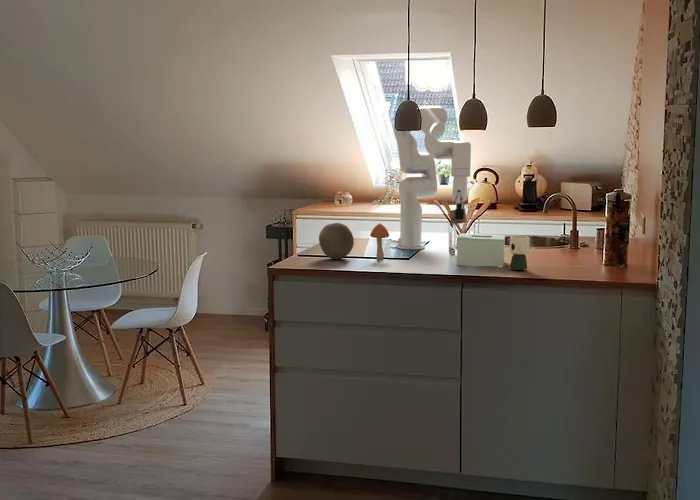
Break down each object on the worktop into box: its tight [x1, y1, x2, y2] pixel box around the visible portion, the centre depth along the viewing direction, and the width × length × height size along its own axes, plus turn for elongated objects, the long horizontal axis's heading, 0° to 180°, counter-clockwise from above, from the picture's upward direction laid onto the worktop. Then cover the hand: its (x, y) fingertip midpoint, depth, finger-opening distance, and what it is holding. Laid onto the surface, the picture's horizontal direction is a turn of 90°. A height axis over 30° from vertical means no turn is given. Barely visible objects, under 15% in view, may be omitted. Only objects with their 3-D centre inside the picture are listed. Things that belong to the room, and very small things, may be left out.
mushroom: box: [369, 223, 390, 261], centre depth 328 cm, size 8×8×15 cm
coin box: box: [456, 232, 506, 268], centre depth 321 cm, size 18×13×11 cm
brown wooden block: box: [449, 208, 467, 225], centre depth 323 cm, size 6×3×6 cm, turn 76°
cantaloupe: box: [318, 222, 355, 260], centre depth 327 cm, size 14×14×15 cm
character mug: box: [509, 235, 530, 271], centre depth 307 cm, size 11×7×13 cm, turn 178°
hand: (459, 218), depth 322 cm, fingers closed on brown wooden block, 2 cm apart
